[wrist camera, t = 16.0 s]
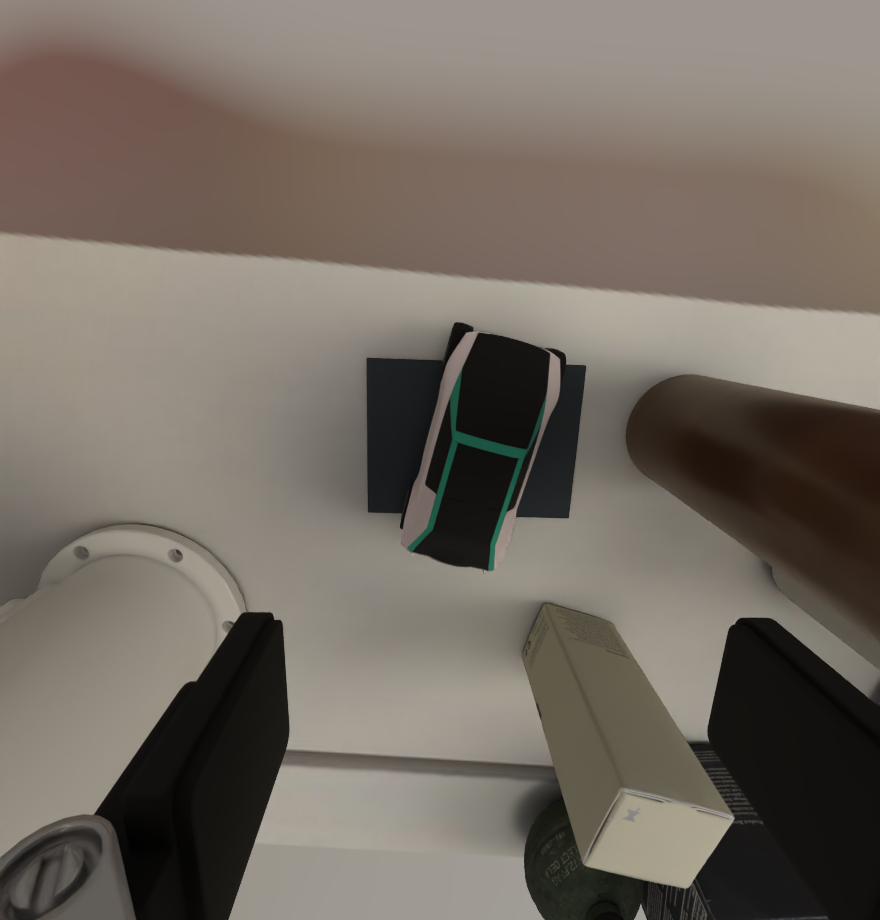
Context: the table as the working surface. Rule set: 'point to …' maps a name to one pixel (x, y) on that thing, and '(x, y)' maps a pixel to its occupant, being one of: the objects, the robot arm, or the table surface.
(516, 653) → the table surface
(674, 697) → the table surface
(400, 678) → the table surface
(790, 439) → the pepper mill
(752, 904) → the small box
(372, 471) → the mat
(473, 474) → the toy car
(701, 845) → the box
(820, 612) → the can
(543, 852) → the grenade
